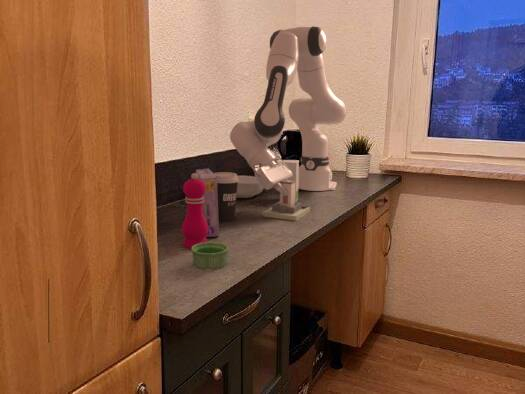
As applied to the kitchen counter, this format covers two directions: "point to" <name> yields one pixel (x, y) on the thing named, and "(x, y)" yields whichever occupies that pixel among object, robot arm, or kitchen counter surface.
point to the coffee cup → (226, 195)
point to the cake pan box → (210, 201)
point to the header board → (287, 211)
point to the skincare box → (294, 173)
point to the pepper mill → (194, 212)
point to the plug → (290, 197)
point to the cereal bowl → (248, 187)
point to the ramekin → (209, 255)
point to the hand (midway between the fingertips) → (289, 193)
